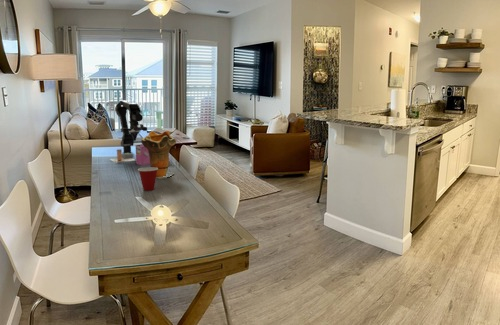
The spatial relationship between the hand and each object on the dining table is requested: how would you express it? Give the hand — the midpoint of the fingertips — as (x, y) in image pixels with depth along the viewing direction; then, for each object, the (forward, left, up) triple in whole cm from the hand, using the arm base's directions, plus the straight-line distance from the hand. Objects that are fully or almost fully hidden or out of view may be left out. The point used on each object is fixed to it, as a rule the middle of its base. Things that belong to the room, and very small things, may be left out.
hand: (134, 140), depth 302 cm
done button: (+3, -8, -12) cm, 14 cm away
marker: (+11, -16, -12) cm, 23 cm away
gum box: (+26, +2, -13) cm, 29 cm away
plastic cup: (+89, -30, -13) cm, 95 cm away
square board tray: (+8, -13, -12) cm, 20 cm away
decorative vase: (+64, -11, -13) cm, 66 cm away
